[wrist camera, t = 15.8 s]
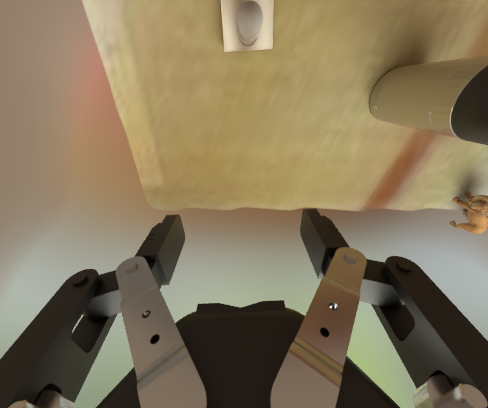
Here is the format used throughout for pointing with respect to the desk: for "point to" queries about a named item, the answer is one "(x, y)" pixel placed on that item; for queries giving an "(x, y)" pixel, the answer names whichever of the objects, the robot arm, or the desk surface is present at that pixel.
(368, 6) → the desk surface
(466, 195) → the lion figurine
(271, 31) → the block strip
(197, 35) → the desk surface
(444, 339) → the robot arm
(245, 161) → the desk surface
